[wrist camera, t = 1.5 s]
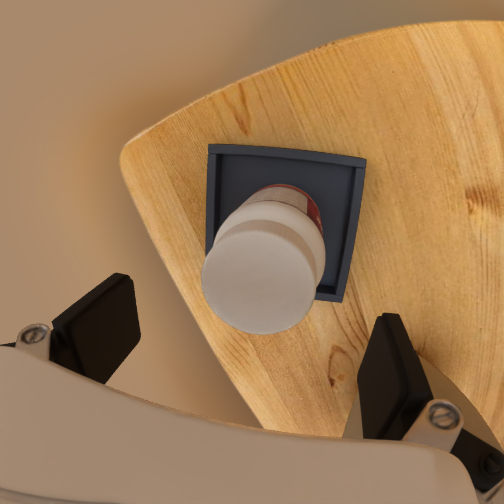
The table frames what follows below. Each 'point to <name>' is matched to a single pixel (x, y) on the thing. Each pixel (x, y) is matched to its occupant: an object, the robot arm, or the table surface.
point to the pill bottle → (266, 261)
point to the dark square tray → (298, 175)
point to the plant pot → (440, 389)
